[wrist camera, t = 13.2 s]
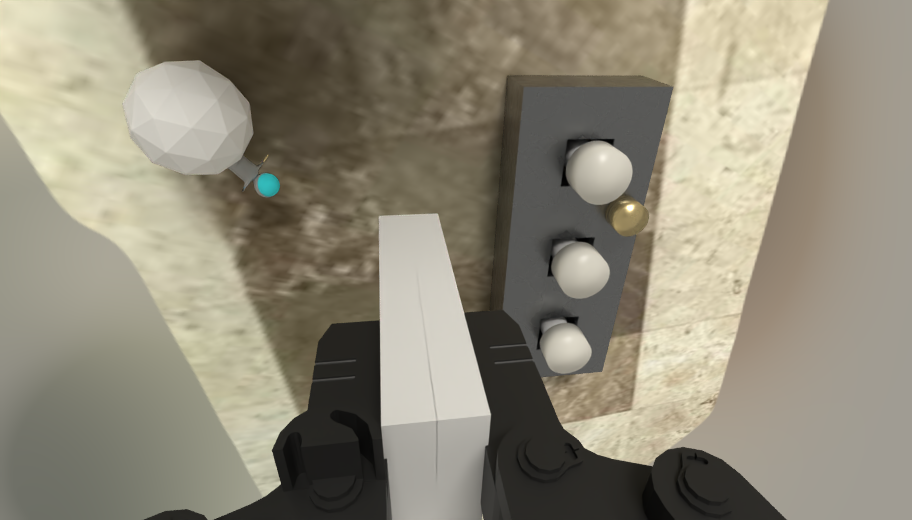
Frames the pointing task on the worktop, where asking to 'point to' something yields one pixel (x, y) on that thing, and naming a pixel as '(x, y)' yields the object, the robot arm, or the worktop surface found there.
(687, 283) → the worktop surface
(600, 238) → the mount
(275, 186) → the perfume bottle
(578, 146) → the knob
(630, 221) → the brass dial
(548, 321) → the knob
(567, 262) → the knob mid
